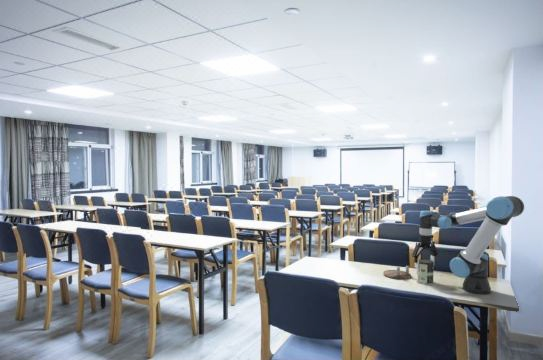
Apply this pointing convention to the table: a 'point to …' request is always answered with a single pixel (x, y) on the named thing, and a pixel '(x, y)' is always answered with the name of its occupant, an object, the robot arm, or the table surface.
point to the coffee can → (425, 272)
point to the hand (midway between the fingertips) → (424, 266)
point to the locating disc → (397, 273)
